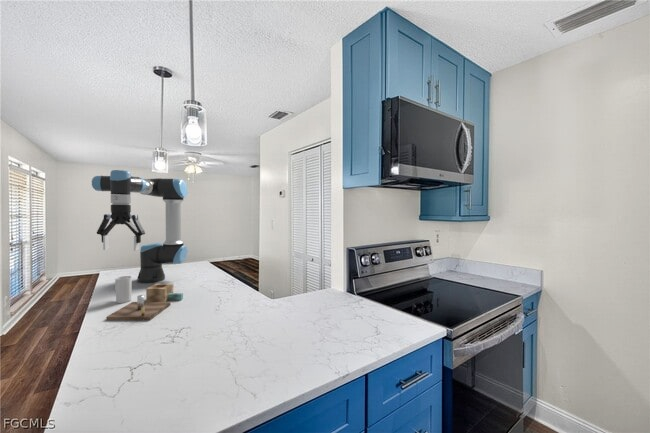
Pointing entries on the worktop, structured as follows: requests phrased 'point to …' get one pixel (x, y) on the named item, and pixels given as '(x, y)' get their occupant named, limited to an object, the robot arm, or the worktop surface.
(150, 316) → the base board
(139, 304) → the post
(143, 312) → the dowel
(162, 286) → the hollow wooden frame
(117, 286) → the mug
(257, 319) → the worktop surface
